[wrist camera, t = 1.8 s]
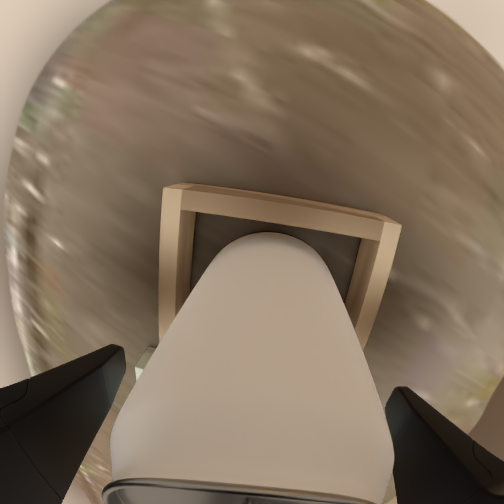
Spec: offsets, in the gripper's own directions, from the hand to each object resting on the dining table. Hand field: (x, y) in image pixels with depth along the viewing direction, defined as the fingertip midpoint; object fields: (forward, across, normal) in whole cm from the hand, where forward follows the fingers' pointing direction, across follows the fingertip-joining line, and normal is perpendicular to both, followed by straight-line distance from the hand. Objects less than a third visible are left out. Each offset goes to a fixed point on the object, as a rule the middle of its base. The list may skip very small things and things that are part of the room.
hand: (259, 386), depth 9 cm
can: (+7, 0, 0) cm, 7 cm away
